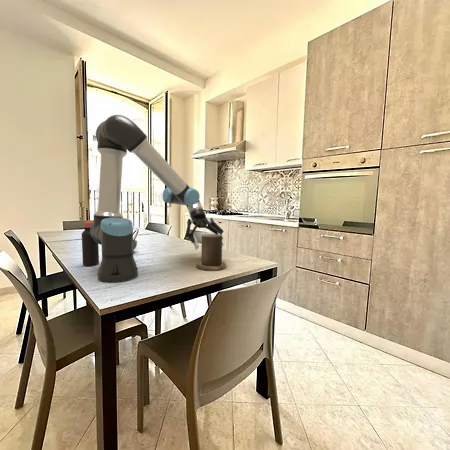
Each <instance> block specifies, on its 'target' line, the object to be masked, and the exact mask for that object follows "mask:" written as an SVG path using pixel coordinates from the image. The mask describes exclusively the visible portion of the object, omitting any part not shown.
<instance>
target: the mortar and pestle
mask: <svg viewBox="0 0 450 450" xmlns="http://www.w3.org/2000/svg"><path fill="white" fill-rule="evenodd" d="M137 245H138V241H137V240H136V239H133V254H134V253H135V249H136V248H137Z"/></svg>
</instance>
